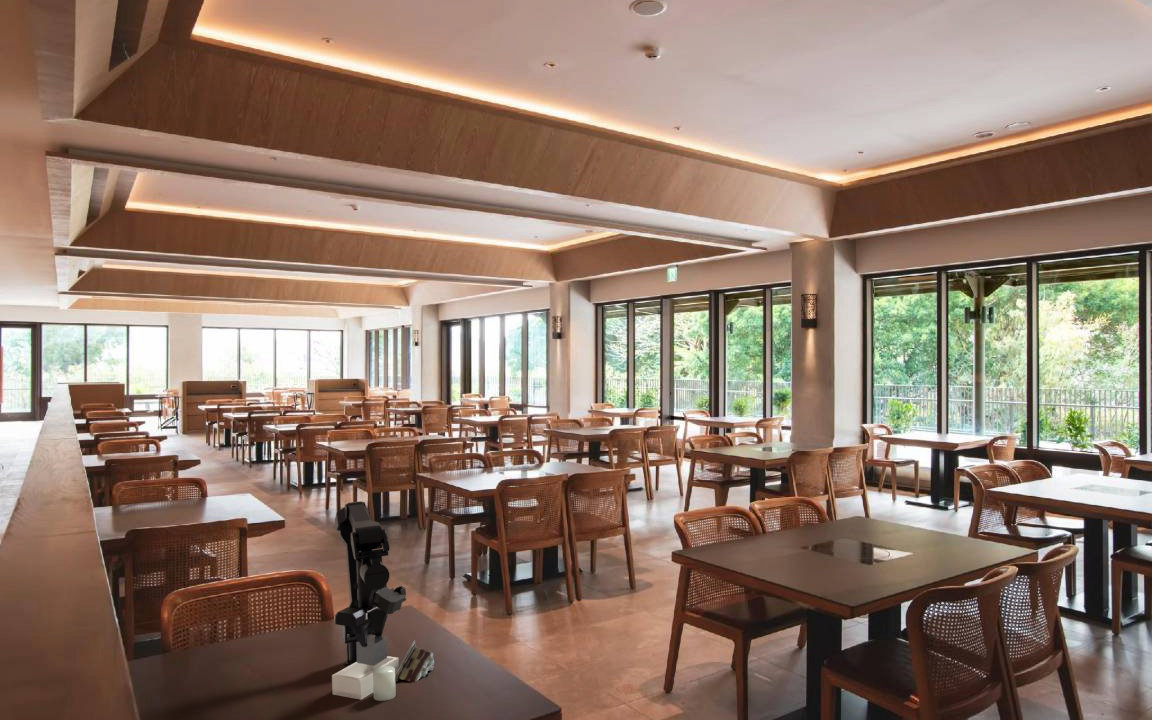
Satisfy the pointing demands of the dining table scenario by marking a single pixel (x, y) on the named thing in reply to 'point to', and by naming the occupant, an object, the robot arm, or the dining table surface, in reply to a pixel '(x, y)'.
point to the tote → (358, 678)
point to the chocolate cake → (415, 664)
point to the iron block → (372, 650)
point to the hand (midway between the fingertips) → (371, 642)
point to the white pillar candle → (384, 683)
